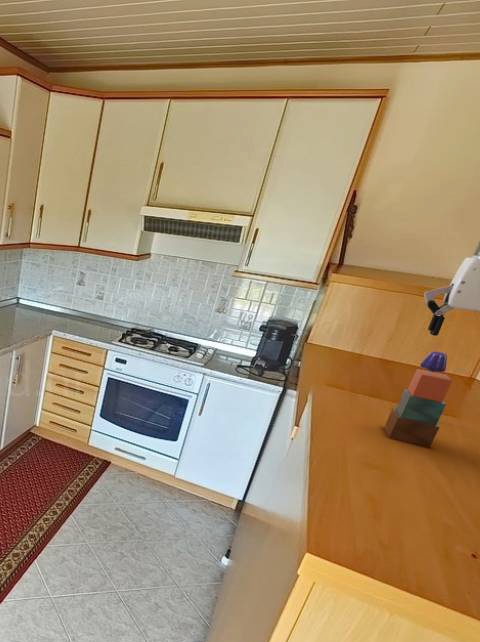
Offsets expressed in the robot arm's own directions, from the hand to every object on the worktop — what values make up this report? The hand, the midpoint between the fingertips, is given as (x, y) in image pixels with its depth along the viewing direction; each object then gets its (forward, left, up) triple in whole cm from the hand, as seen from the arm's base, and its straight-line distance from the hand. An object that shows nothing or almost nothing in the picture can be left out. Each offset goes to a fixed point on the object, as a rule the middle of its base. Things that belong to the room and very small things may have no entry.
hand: (464, 339), depth 99 cm
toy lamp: (-2, -21, -24) cm, 32 cm away
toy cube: (+2, -1, -13) cm, 14 cm away
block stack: (+2, -1, -23) cm, 24 cm away
